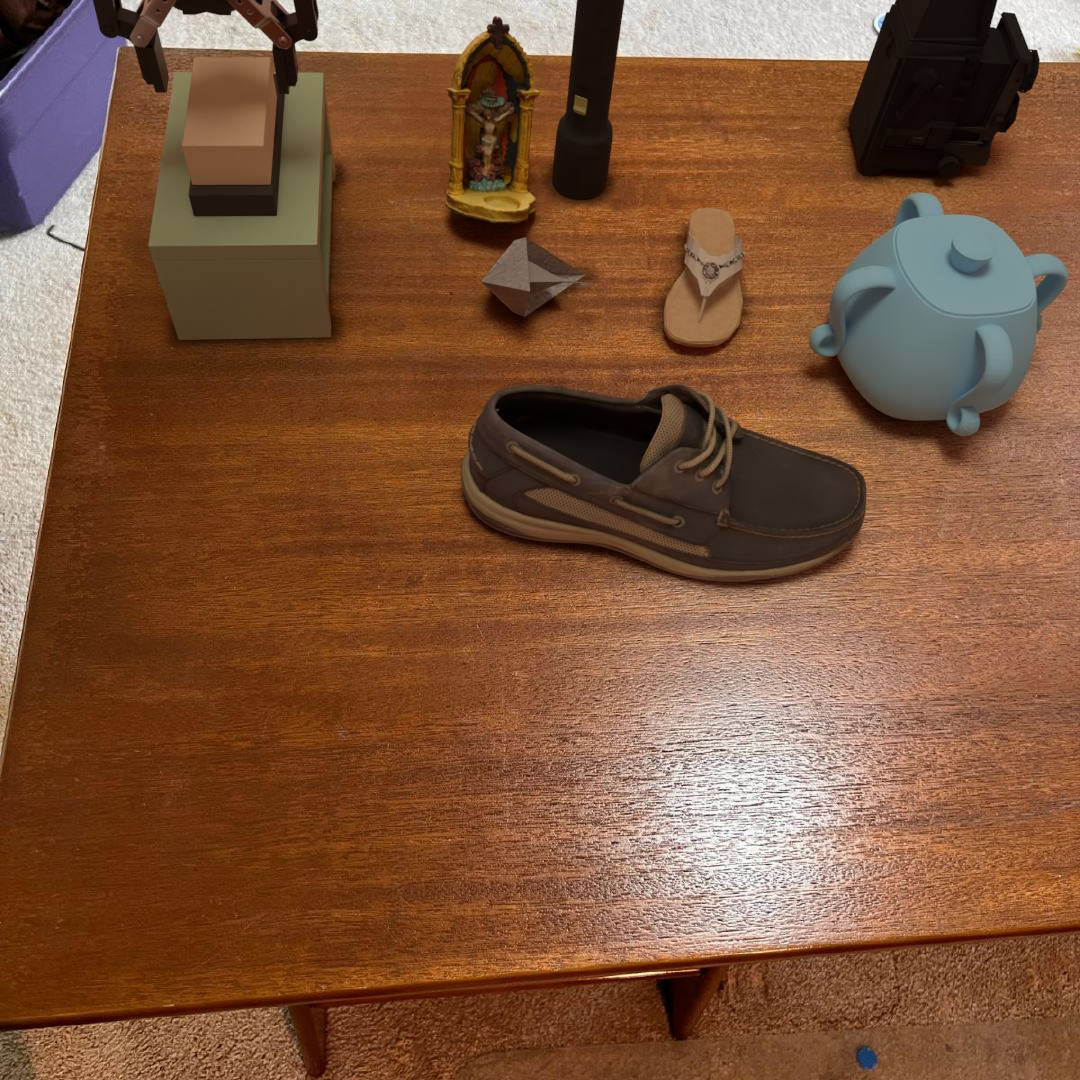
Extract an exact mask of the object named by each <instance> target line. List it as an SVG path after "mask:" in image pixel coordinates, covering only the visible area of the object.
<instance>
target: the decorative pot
mask: <svg viewBox="0 0 1080 1080" xmlns="http://www.w3.org/2000/svg"><path fill="white" fill-rule="evenodd" d="M1043 276H1045V277H1044V278H1043V279H1042V280H1041V281H1040V282H1039V283H1038V284H1037V285H1036V282H1035V278H1039V277H1043ZM1068 281H1069V272H1068V269H1067V267H1066V266H1065V263H1064V262H1063V261H1062V260H1061V259H1060V258H1059V257H1057V256H1055V255H1054V254H1051V253H1035V254H1031V255H1027V256H1025V254H1024V253H1023V252H1022V251H1021V249H1020V248H1019V247H1018V245H1017V244H1016V242H1015V241H1014V240H1013V239H1012V238H1011V236H1009V235H1008V233H1007V232H1006V231H1004V229H1002V228H1001V227H1000V226H999V225H997V224H996V223H995V222H993V221H992V220H989V219H987V218H984V217H982V216H977V215H971V214H945V213H944V208H943V206H942V203H941V201H940V200H939V199H938V198H937V197H936V196H935V195H933V194H931V193H927V192H913V193H911V194H908V195H907V196H905V197H904V199H902V201H901V203H900V205H899V208H898V210H897V213H896V216H895V219H894V223H893V227H892V228H890V229H889V230H888V231H886V232H885V233H883V234H882V235H880V236H879V237H878V238H876V239H875V240H874V241H873V242H871V243H870V244H868V246H867V247H865V248H864V249H863V250H861V252H860V253H859V254H858V255H857V256H856V257H855V258H854V259H853V260H852V262H851V263H850V264H849V265H848V267H847V268H846V269H845V271H844V272H843V274H842V275H841V277H840V278H839V279H838V281H837V283H836V284H835V286H834V287H833V290H832V292H831V296H830V302H829V312H828V323H823V324H820V325H818V326H816V327H814V328H813V330H812V331H811V332H810V334H809V339H808V342H809V348H810V349H811V351H812V352H813V353H815V354H816V355H818V356H820V357H824V358H831V357H832V358H833V357H835V356H837V359H838V361H839V363H840V365H841V368H842V369H843V371H844V372H845V374H846V376H847V377H848V379H849V381H850V382H851V383H852V385H853V386H854V388H855V389H856V391H857V392H858V393H859V394H860V395H861V396H862V398H863V399H865V401H866V402H867V403H868V404H869V405H871V406H872V407H873V408H874V409H876V410H877V411H879V412H881V413H883V414H884V415H887V416H888V417H890V418H894V419H899V420H904V421H915V422H916V421H917V422H918V421H920V422H921V421H923V422H925V421H929V422H930V421H944V420H946V425H947V427H948V428H949V430H950V431H951V432H952V433H953V434H954V435H957V436H960V437H969V436H971V435H973V434H975V433H976V432H978V430H979V428H980V425H981V417H980V414H981V413H984V412H988V411H992V410H994V409H997V408H999V407H1001V406H1002V405H1004V404H1006V403H1008V402H1009V401H1010V400H1011V399H1013V397H1014V396H1015V395H1016V393H1017V392H1018V390H1019V388H1020V387H1021V385H1022V384H1023V383H1024V380H1025V379H1026V376H1027V373H1028V371H1029V369H1030V366H1031V363H1032V359H1033V356H1034V352H1035V347H1036V342H1037V334H1039V332H1040V331H1041V329H1042V326H1043V317H1042V313H1043V312H1044V311H1045V310H1046V309H1047V308H1048V307H1049V306H1050V305H1051V304H1052V303H1053V302H1054V301H1055V300H1056V299H1057V298H1058V297H1059V296H1060V295H1061V293H1063V291H1064V290H1065V288H1066V286H1067V284H1068Z"/></svg>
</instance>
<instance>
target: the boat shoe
mask: <svg viewBox="0 0 1080 1080" xmlns="http://www.w3.org/2000/svg"><path fill="white" fill-rule="evenodd" d="M467 448H468V449H467V450H466V452H465V454H464V455H463V458H462V463H461V468H460V469H461V470H460V481H461V482H460V484H461V489H462V493H463V495H464V497H465V500H466V502H467V504H468V506H469V507H470V509H471V511H472V513H474V515H475V516H476V517H477V518H478V519H479V520H481V521H482V522H483V523H485V524H486V525H487V526H489V527H491V528H493V529H494V530H497V531H498V532H502V533H504V534H506V535H509V536H512V537H517V538H520V539H525V540H532V541H538V542H544V543H545V542H546V543H564V544H565V543H566V544H584V545H591V546H592V545H593V546H597V547H601V548H605V549H610V550H613V551H615V552H619V553H622V554H624V555H627V556H629V557H631V558H633V559H635V560H638V561H640V562H641V561H642V562H644V563H647V564H649V565H651V566H653V567H655V568H658V569H660V570H662V571H665V572H669V573H672V574H675V575H679V576H684V577H686V578H692V579H695V580H701V581H712V582H713V581H714V582H725V583H726V582H732V583H733V582H749V581H755V580H756V581H757V580H758V581H759V580H760V581H761V580H767V579H775V578H779V577H780V578H781V577H784V576H789V575H794V574H797V573H800V572H803V571H807V570H808V569H811V568H815V567H817V566H818V565H819V566H820V565H821V564H823V563H825V562H827V561H828V560H830V559H832V558H833V557H835V556H836V555H837V554H839V553H841V552H842V551H844V550H845V549H846V548H847V547H848V546H849V545H851V543H853V541H854V540H856V538H857V537H858V535H859V533H860V531H861V529H862V526H863V524H864V520H865V517H866V512H867V511H866V510H867V509H866V508H867V492H868V491H867V483H866V480H865V476H864V475H863V474H861V472H860V471H859V470H858V469H857V468H856V467H854V465H851V464H849V463H848V462H846V461H843V460H841V459H838V458H836V457H833V456H829V455H827V454H823V453H820V452H817V451H814V450H810V449H807V448H804V447H801V446H797V445H795V444H791V443H788V442H785V441H783V440H780V439H777V438H774V437H771V436H768V435H766V434H762V433H759V432H757V431H754V430H751V429H748V428H745V427H742V426H741V425H740V423H739V422H738V421H737V420H734V419H733V418H731V417H729V416H728V415H727V413H726V410H725V409H724V408H723V407H721V406H719V405H715V403H714V401H713V399H712V398H711V397H710V395H708V394H707V393H706V392H703V391H696V390H694V389H693V388H691V387H689V386H687V385H684V384H680V383H676V384H675V383H673V384H668V385H665V386H664V385H663V386H660V387H656V388H652V389H650V390H648V391H647V394H645V395H644V396H643V397H641V398H630V397H629V398H628V397H619V396H613V395H607V394H603V393H602V394H601V393H597V392H593V391H584V390H578V389H573V388H569V387H566V386H563V385H555V386H554V385H538V384H537V385H536V384H522V385H513V386H507V387H504V388H501V389H499V390H497V391H496V392H495V393H493V394H492V395H491V396H490V397H489V399H488V400H487V402H486V403H485V405H484V407H483V409H482V412H481V413H480V414H479V416H478V417H477V419H476V420H475V421H474V423H473V424H472V426H471V427H470V430H469V431H468V437H467Z"/></svg>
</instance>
